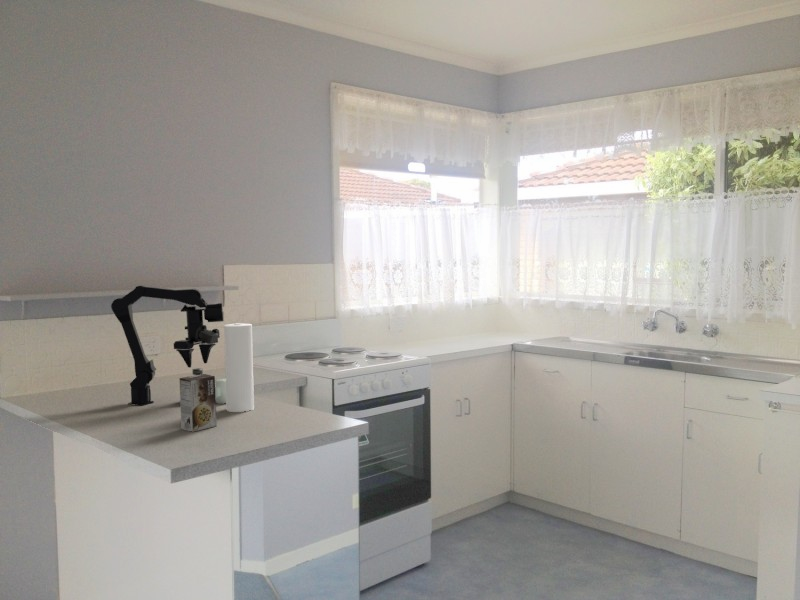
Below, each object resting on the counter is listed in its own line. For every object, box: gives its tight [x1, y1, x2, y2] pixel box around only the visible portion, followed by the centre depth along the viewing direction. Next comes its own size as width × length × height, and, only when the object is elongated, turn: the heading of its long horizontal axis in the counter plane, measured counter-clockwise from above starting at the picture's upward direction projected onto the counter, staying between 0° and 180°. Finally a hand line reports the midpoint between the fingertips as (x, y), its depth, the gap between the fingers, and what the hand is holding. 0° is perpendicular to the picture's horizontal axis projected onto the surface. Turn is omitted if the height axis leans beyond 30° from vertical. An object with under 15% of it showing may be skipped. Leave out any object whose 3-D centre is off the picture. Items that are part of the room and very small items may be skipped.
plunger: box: [191, 367, 204, 376], centre depth 267 cm, size 4×4×7 cm
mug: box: [215, 378, 226, 405], centre depth 265 cm, size 9×7×8 cm
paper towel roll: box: [223, 322, 255, 413], centre depth 252 cm, size 9×9×30 cm
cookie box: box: [179, 373, 218, 433], centre depth 226 cm, size 9×6×16 cm
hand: (197, 365), depth 267 cm, fingers open, 9 cm apart
